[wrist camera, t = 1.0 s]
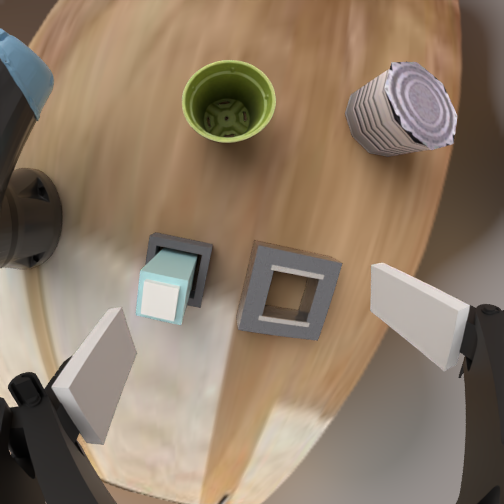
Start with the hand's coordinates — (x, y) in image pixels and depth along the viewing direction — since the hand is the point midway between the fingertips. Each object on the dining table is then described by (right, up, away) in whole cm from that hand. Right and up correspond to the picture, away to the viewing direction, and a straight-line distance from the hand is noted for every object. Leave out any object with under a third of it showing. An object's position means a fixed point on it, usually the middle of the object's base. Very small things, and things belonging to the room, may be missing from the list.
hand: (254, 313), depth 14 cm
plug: (-10, +1, +23) cm, 25 cm away
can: (+19, +22, +22) cm, 36 cm away
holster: (-10, +1, +23) cm, 25 cm away
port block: (+4, -2, +25) cm, 25 cm away
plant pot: (-3, +20, +20) cm, 28 cm away
